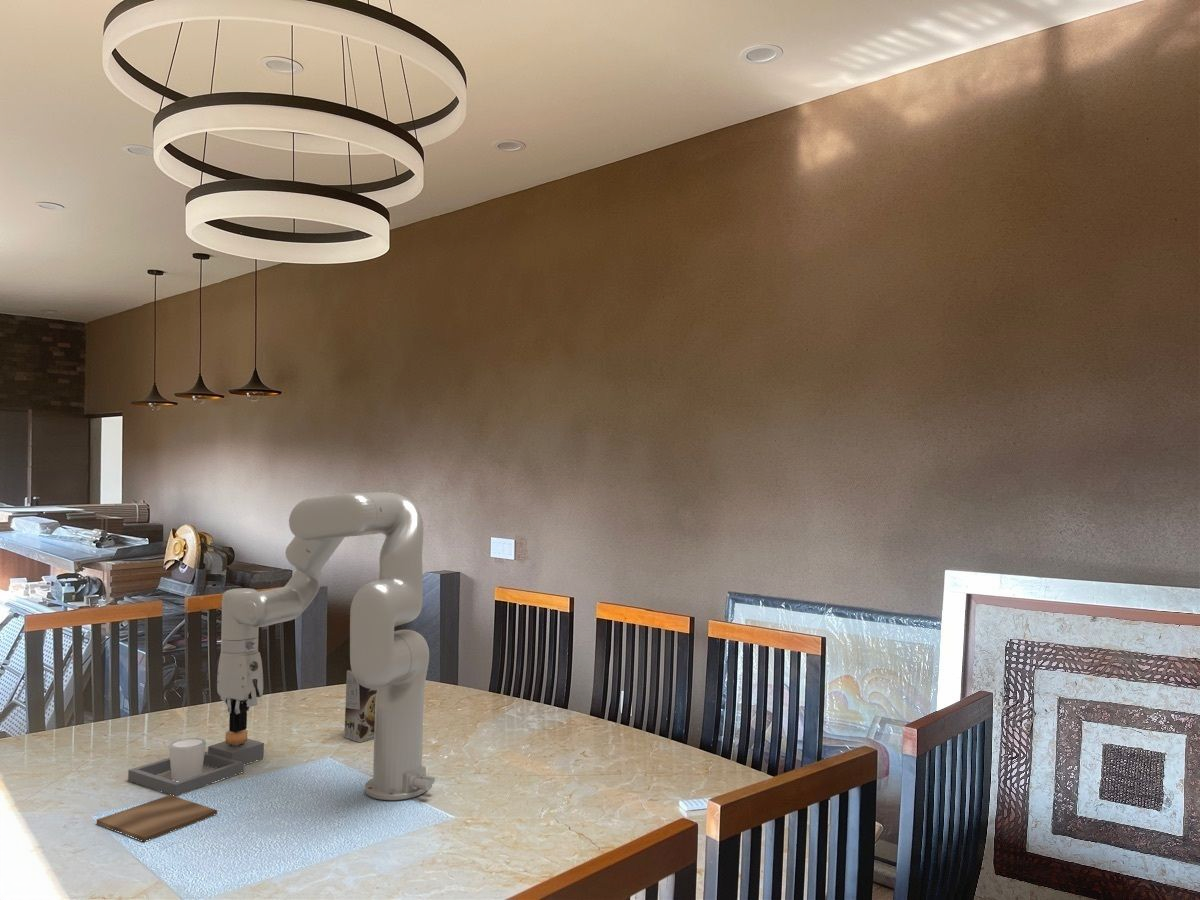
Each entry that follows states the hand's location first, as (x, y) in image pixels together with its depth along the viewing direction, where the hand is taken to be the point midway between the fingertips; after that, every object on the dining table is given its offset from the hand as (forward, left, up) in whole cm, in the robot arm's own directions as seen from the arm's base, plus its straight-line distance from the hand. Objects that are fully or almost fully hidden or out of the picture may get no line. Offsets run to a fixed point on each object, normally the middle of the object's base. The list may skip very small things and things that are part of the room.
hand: (237, 730), depth 186 cm
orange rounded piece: (0, 0, -5) cm, 5 cm away
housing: (0, +8, -7) cm, 10 cm away
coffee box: (-11, -28, -7) cm, 31 cm away
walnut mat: (-15, +28, -7) cm, 32 cm away
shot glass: (0, +12, -7) cm, 14 cm away
